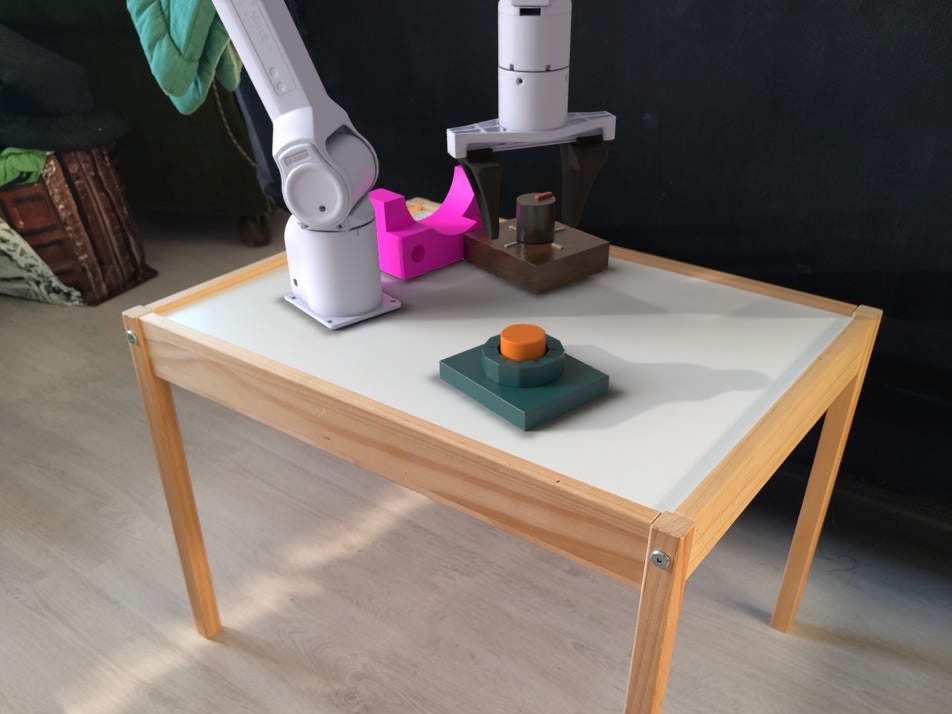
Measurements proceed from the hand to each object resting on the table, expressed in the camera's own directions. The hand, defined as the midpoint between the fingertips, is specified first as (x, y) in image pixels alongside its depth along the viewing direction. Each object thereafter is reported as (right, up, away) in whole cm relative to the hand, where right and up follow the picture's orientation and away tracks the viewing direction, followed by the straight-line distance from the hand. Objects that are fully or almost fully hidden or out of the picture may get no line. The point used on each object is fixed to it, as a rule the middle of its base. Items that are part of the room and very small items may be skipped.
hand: (531, 230), depth 80 cm
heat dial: (+1, +3, +14) cm, 14 cm away
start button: (-1, -12, -7) cm, 14 cm away
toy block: (-9, +2, +18) cm, 21 cm away
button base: (-1, -15, -6) cm, 16 cm away
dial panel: (+1, +1, +16) cm, 16 cm away
